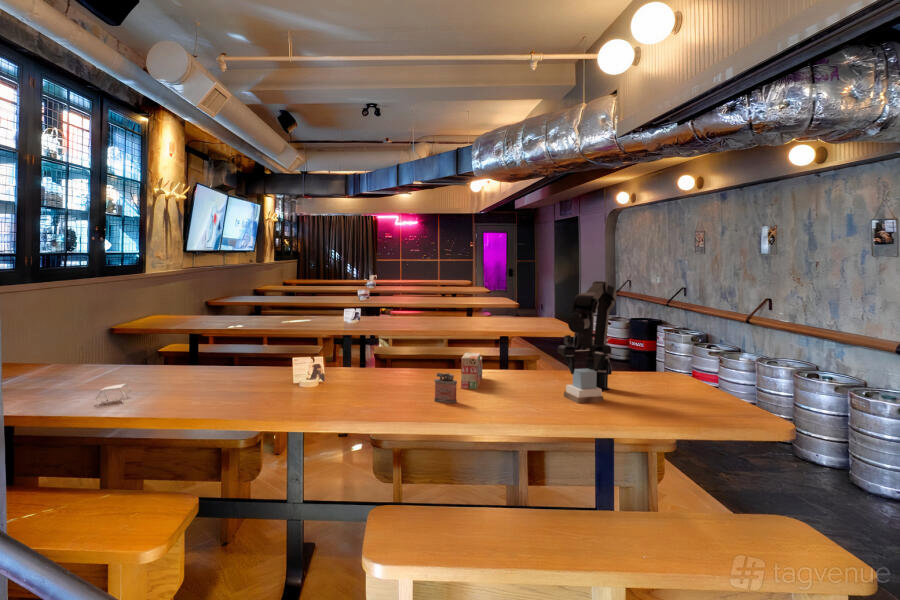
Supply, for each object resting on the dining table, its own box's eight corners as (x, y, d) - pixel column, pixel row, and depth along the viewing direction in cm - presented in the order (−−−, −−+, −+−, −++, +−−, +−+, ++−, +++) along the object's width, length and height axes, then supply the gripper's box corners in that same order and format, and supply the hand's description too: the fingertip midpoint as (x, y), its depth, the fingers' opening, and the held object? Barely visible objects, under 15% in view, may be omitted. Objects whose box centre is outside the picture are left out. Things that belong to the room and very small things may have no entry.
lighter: (458, 401, 186) (458, 373, 186) (454, 403, 183) (455, 374, 182) (436, 399, 189) (436, 371, 188) (432, 401, 186) (433, 373, 185)
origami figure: (119, 405, 177) (118, 390, 177) (93, 404, 177) (93, 390, 177) (140, 396, 189) (139, 382, 189) (116, 396, 189) (116, 382, 189)
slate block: (587, 384, 195) (587, 368, 195) (596, 388, 189) (596, 371, 189) (572, 385, 194) (572, 369, 193) (581, 389, 188) (581, 372, 187)
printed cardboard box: (467, 377, 227) (468, 348, 226) (482, 378, 226) (482, 349, 225) (460, 388, 206) (461, 357, 205) (477, 389, 205) (477, 357, 204)
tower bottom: (588, 396, 198) (588, 390, 198) (603, 403, 188) (603, 396, 188) (563, 398, 195) (564, 391, 195) (577, 405, 186) (577, 398, 185)
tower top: (588, 390, 197) (588, 383, 197) (601, 396, 189) (601, 389, 189) (566, 391, 195) (566, 384, 195) (578, 397, 186) (579, 390, 186)
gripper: (596, 327, 201) (594, 368, 201) (550, 328, 195) (549, 370, 196) (613, 330, 190) (611, 374, 191) (565, 331, 185) (564, 376, 186)
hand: (583, 373), depth 191 cm, fingers open, 9 cm apart
